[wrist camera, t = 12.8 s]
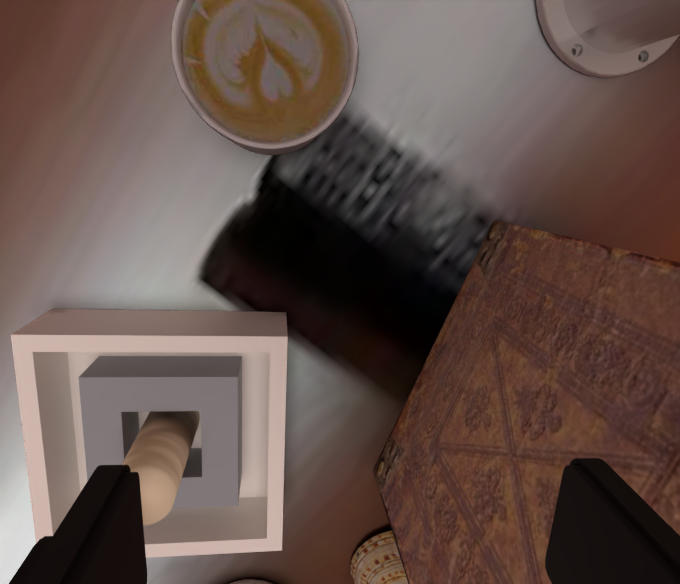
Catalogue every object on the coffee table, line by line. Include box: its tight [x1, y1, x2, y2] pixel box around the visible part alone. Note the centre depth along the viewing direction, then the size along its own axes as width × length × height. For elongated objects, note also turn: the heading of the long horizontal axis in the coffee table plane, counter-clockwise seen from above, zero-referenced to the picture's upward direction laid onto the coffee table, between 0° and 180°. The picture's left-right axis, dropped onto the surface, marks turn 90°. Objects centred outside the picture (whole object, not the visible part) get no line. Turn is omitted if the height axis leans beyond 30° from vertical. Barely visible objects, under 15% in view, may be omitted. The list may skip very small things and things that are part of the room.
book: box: [374, 220, 680, 584], centre depth 28 cm, size 25×9×30 cm, turn 157°
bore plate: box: [78, 356, 242, 509], centre depth 37 cm, size 11×11×4 cm
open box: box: [11, 309, 288, 558], centre depth 37 cm, size 18×18×6 cm
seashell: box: [350, 531, 408, 584], centre depth 46 cm, size 8×6×8 cm
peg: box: [122, 411, 200, 525], centre depth 34 cm, size 4×4×10 cm
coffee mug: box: [171, 0, 359, 155], centre depth 30 cm, size 13×10×10 cm
